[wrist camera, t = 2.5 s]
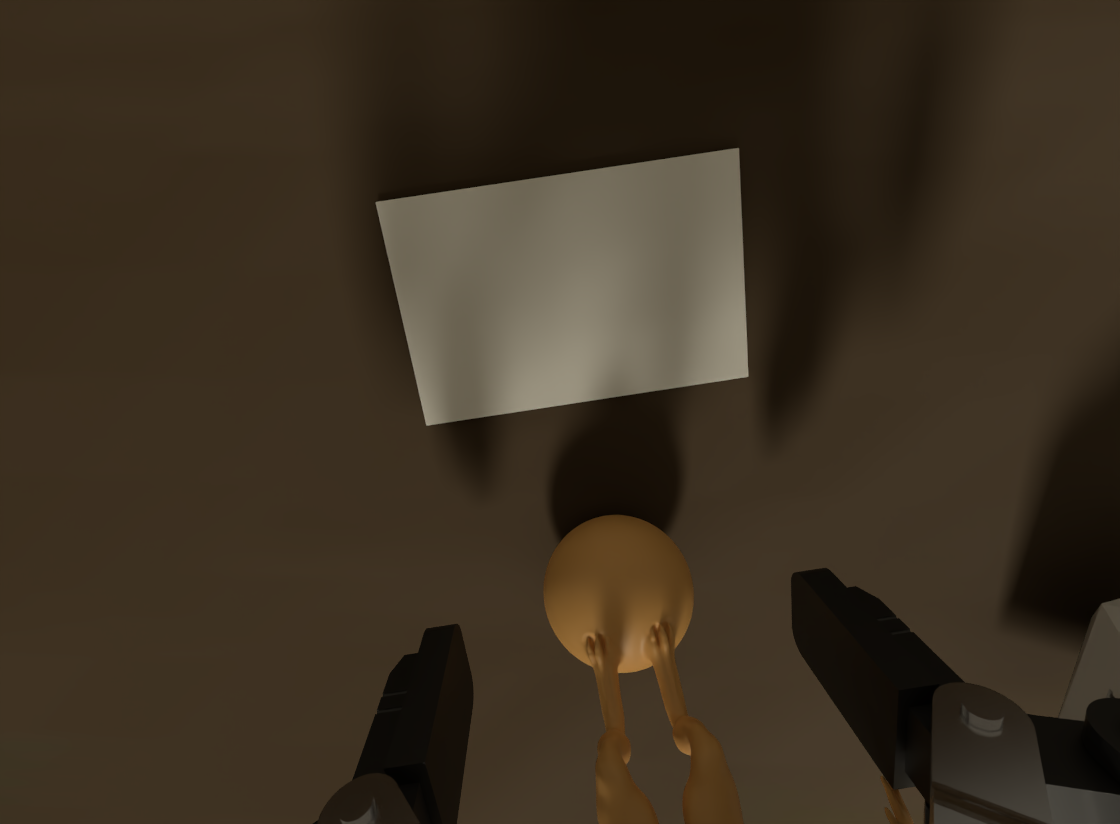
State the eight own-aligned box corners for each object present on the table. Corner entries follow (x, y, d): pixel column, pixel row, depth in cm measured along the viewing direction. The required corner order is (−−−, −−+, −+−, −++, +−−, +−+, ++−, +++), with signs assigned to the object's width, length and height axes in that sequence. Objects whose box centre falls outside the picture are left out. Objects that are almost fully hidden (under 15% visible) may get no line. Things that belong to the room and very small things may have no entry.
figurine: (736, 466, 15) (1362, 1118, 4) (748, 632, 17) (1199, 1418, 6) (458, 516, 15) (233, 1321, 4) (500, 677, 17) (435, 1555, 6)
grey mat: (735, 149, 13) (738, 147, 13) (745, 375, 14) (748, 376, 14) (377, 202, 13) (375, 201, 13) (427, 423, 14) (426, 425, 14)
